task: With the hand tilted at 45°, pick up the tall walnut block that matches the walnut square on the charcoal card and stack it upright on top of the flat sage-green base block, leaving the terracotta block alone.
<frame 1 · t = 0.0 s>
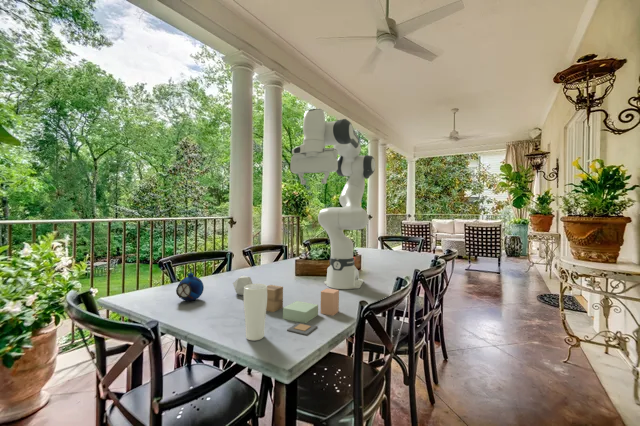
hand: (313, 183, 118), 48 cm above the table, tool pointing down, fingers open, 8 cm apart
bomb: (189, 301, 119), on the table
walnut block: (271, 308, 112), on the table
sage base block: (300, 317, 103), on the table
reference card: (302, 329, 93), on the table
terracotta block: (329, 312, 108), on the table
drinking glass: (255, 338, 86), on the table
die: (243, 294, 130), on the table
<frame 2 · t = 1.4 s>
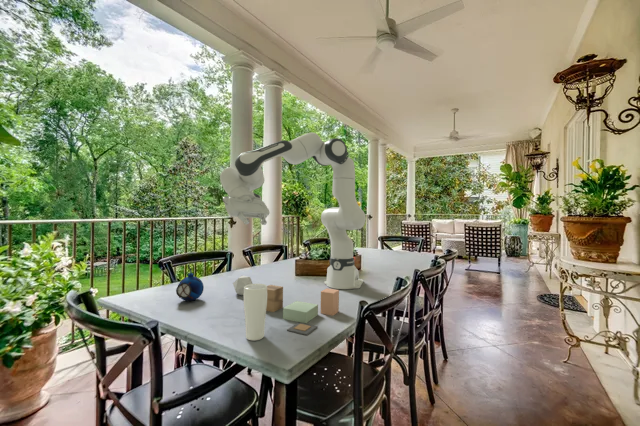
hand: (256, 223, 118), 32 cm above the table, tool tilted 45°, fingers open, 8 cm apart
nothing on the table moved.
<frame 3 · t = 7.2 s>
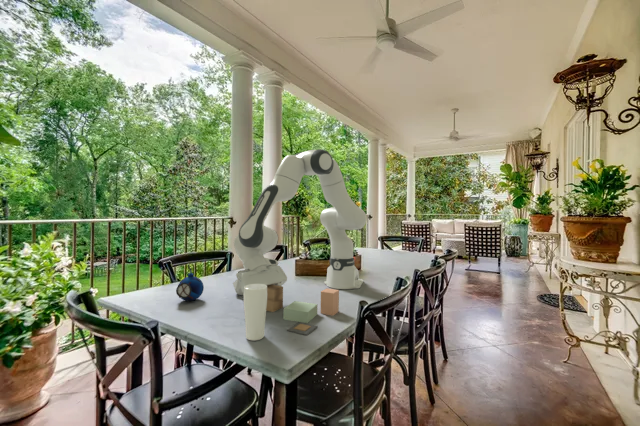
hand: (273, 297, 111), 4 cm above the table, tool tilted 45°, fingers closed on walnut block, 7 cm apart
walnut block: (271, 308, 112), on the table, touching gripper
everything else where it was.
when the fingers open (9 cm above the table, at t = 14.6 s): walnut block drops 1 cm, resting on sage base block.
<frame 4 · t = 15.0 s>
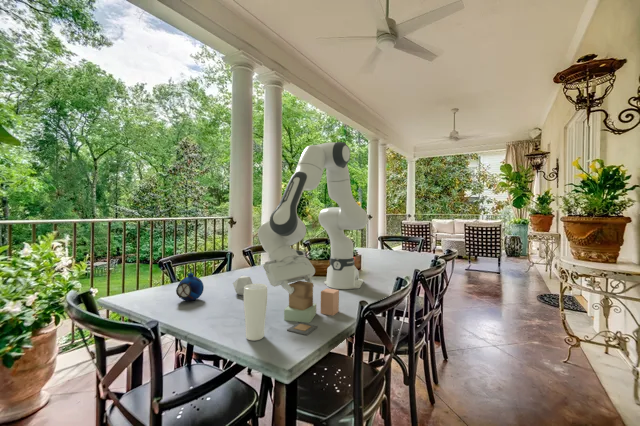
hand: (302, 290, 103), 9 cm above the table, tool tilted 45°, fingers open, 8 cm apart
walnut block: (301, 306, 103), point 4 cm above the table, touching sage base block
sage base block: (300, 317, 103), on the table, touching walnut block
everything else where it was.
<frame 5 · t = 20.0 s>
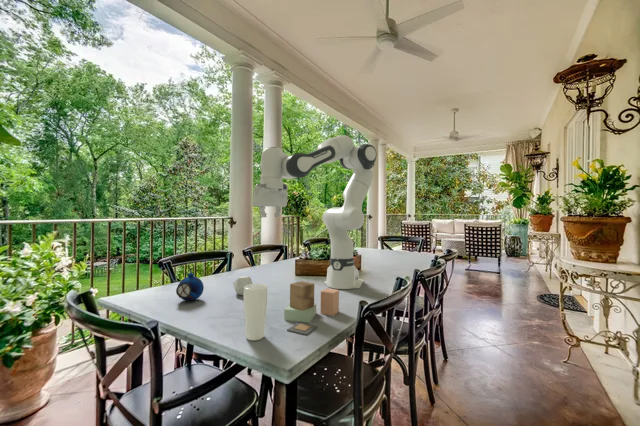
hand: (270, 217, 127), 34 cm above the table, tool pointing down, fingers open, 8 cm apart
at the end: walnut block inside the target area on the sage base block (0.4 cm from its centre), point 4.0 cm above the sage base block's base; walnut block tilted 0°; the gripper is holding nothing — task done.
